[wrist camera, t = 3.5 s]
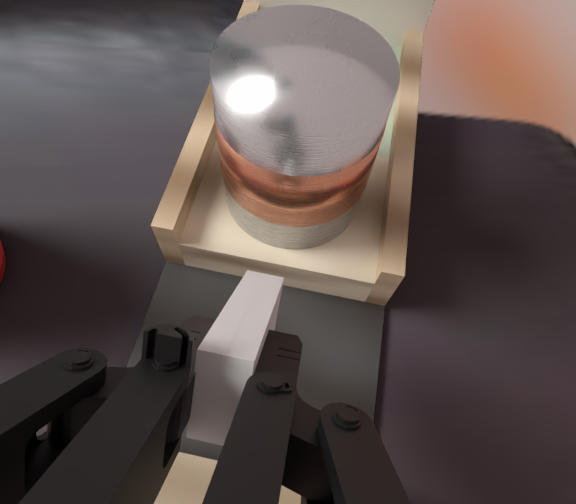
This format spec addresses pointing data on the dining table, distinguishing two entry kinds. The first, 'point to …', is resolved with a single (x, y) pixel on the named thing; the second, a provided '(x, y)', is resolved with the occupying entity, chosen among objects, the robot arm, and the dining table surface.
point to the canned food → (2, 261)
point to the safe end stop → (376, 28)
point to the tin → (299, 119)
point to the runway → (287, 271)
